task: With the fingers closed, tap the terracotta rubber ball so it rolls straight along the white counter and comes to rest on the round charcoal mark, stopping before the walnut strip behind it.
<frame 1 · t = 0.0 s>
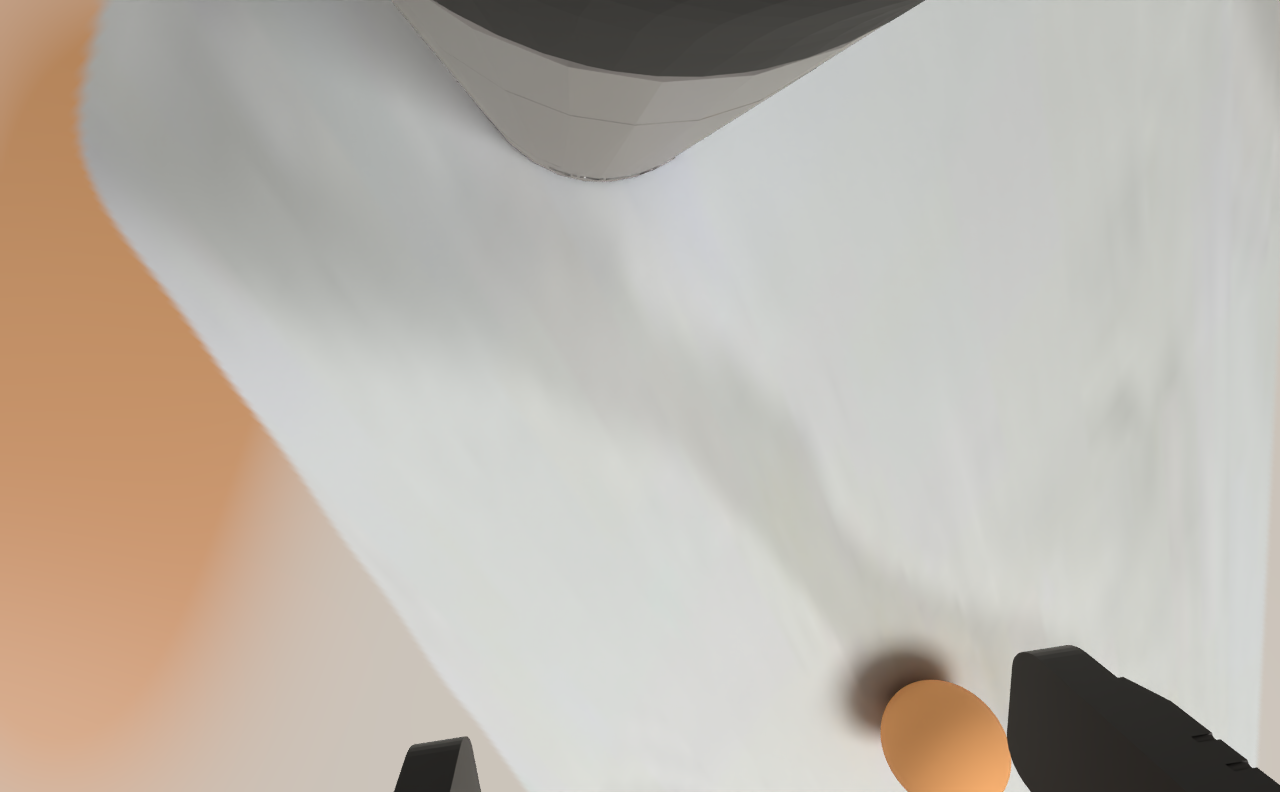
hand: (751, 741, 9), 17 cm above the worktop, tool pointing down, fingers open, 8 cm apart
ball: (943, 743, 29), on the worktop
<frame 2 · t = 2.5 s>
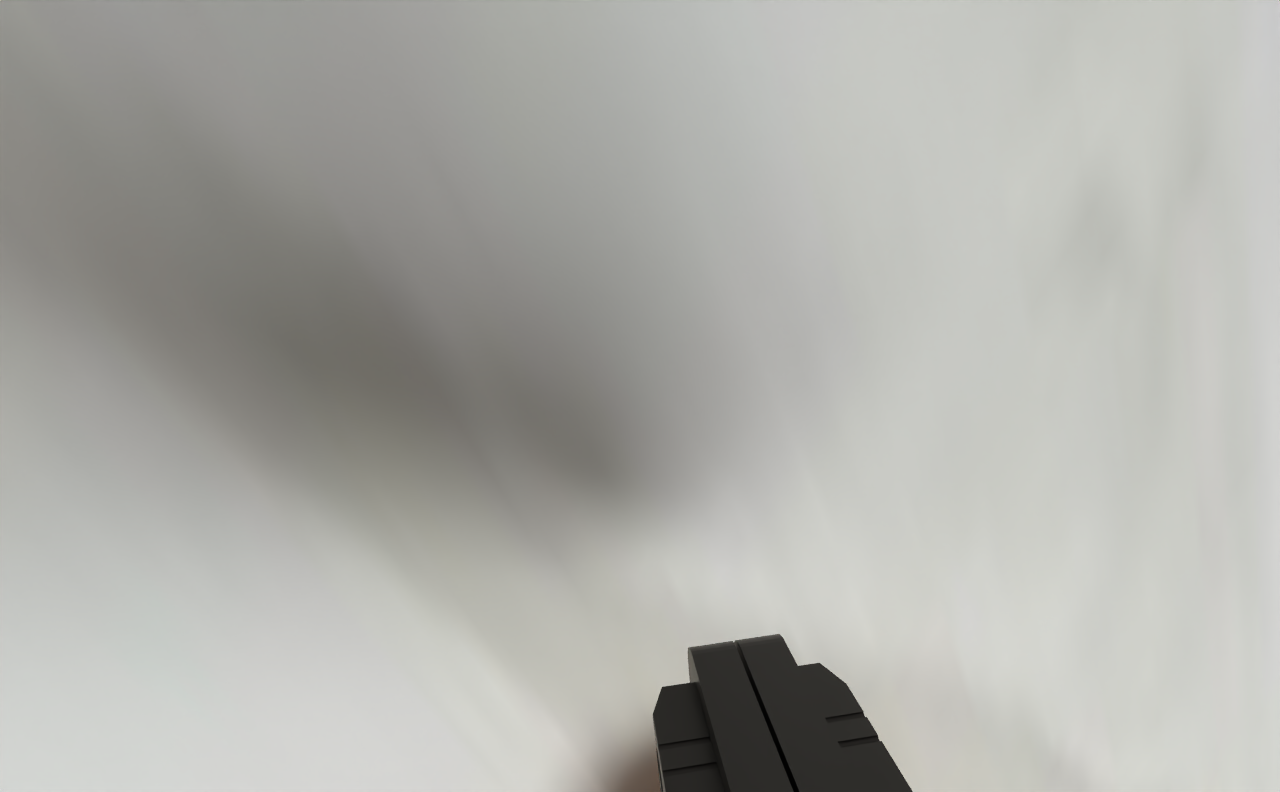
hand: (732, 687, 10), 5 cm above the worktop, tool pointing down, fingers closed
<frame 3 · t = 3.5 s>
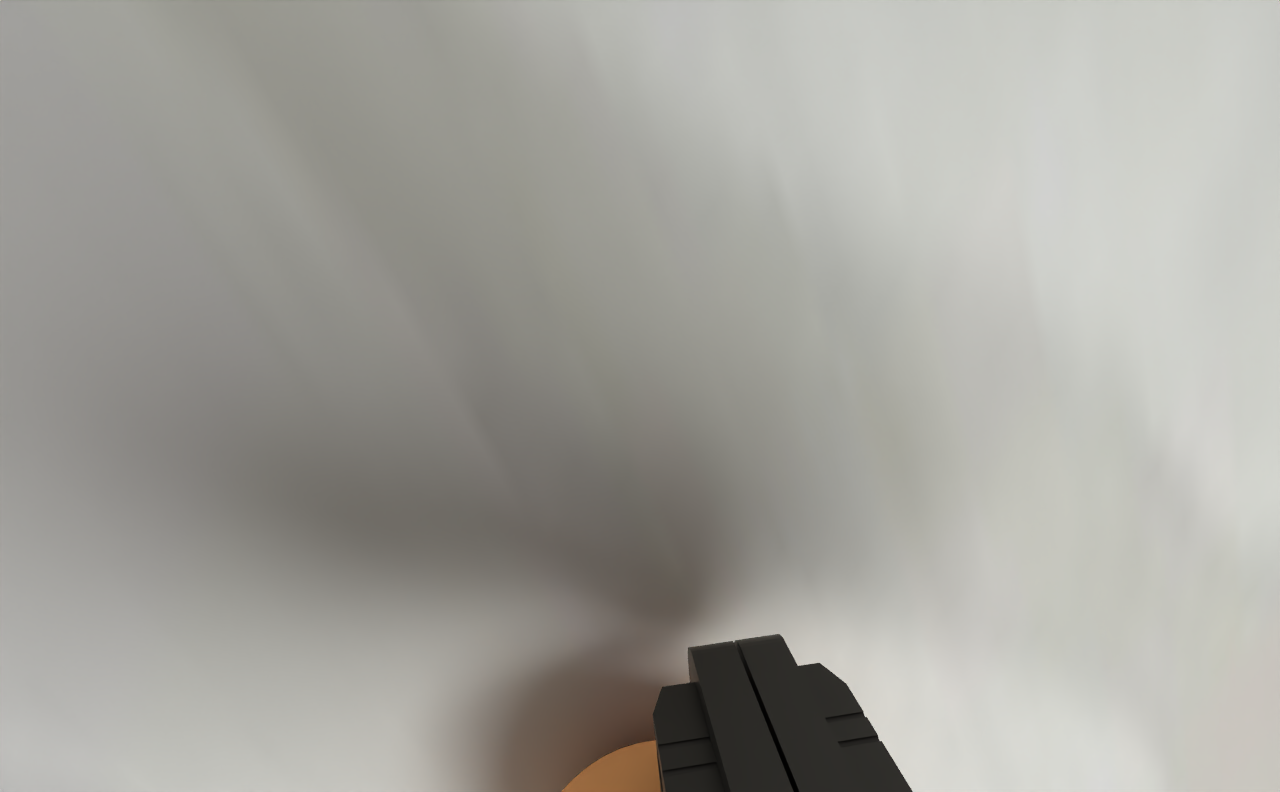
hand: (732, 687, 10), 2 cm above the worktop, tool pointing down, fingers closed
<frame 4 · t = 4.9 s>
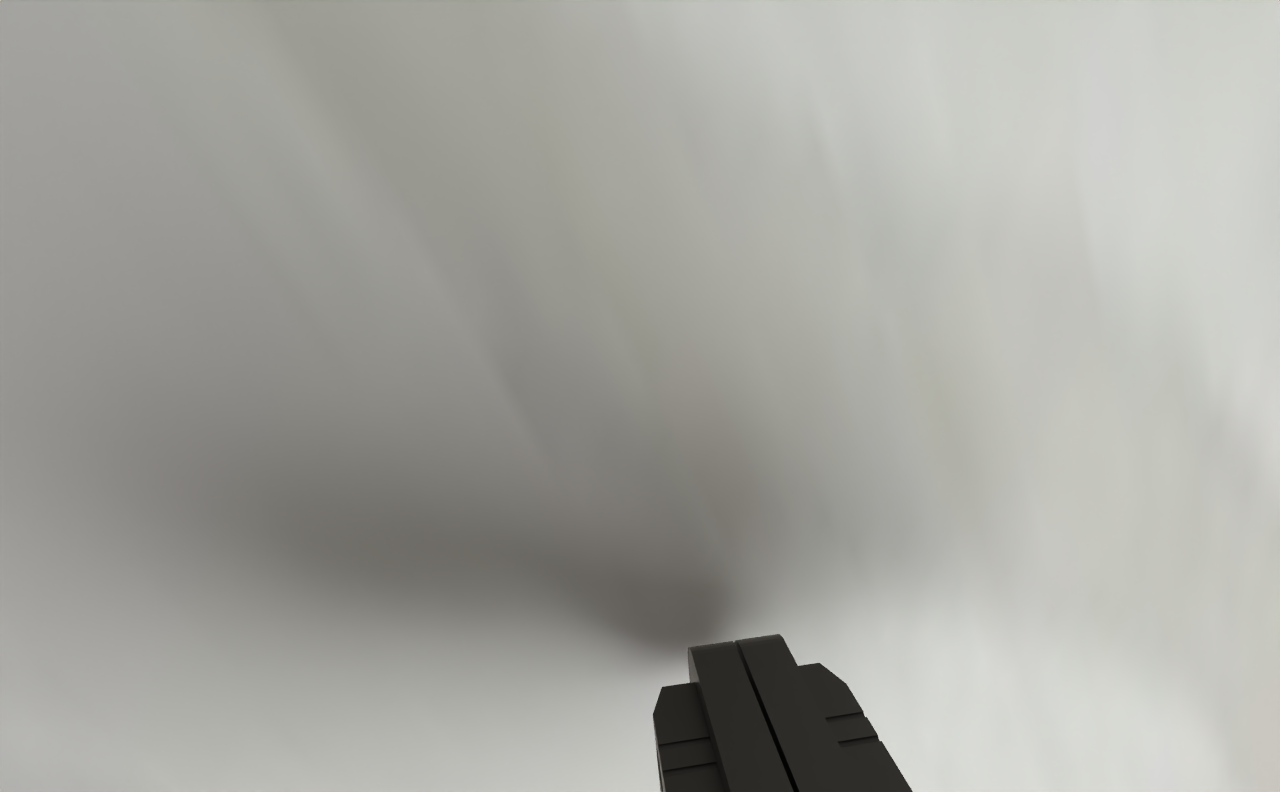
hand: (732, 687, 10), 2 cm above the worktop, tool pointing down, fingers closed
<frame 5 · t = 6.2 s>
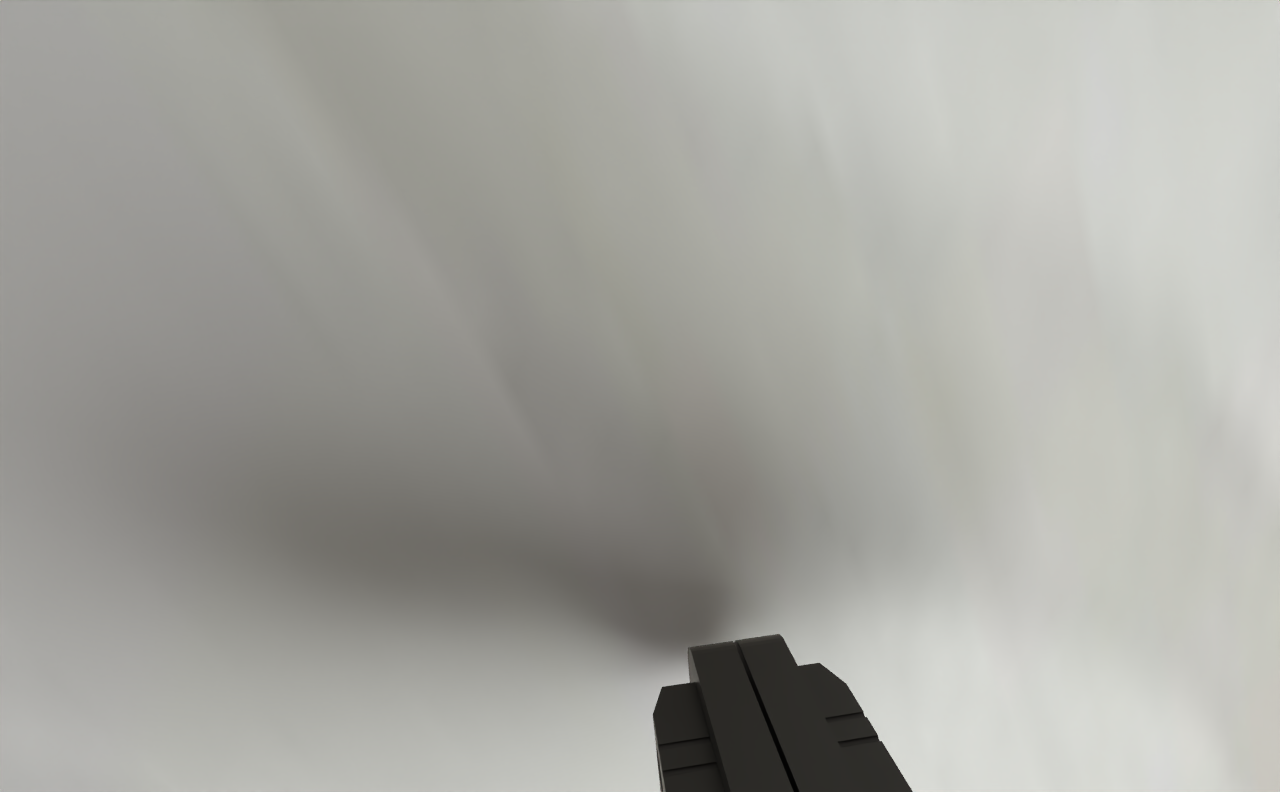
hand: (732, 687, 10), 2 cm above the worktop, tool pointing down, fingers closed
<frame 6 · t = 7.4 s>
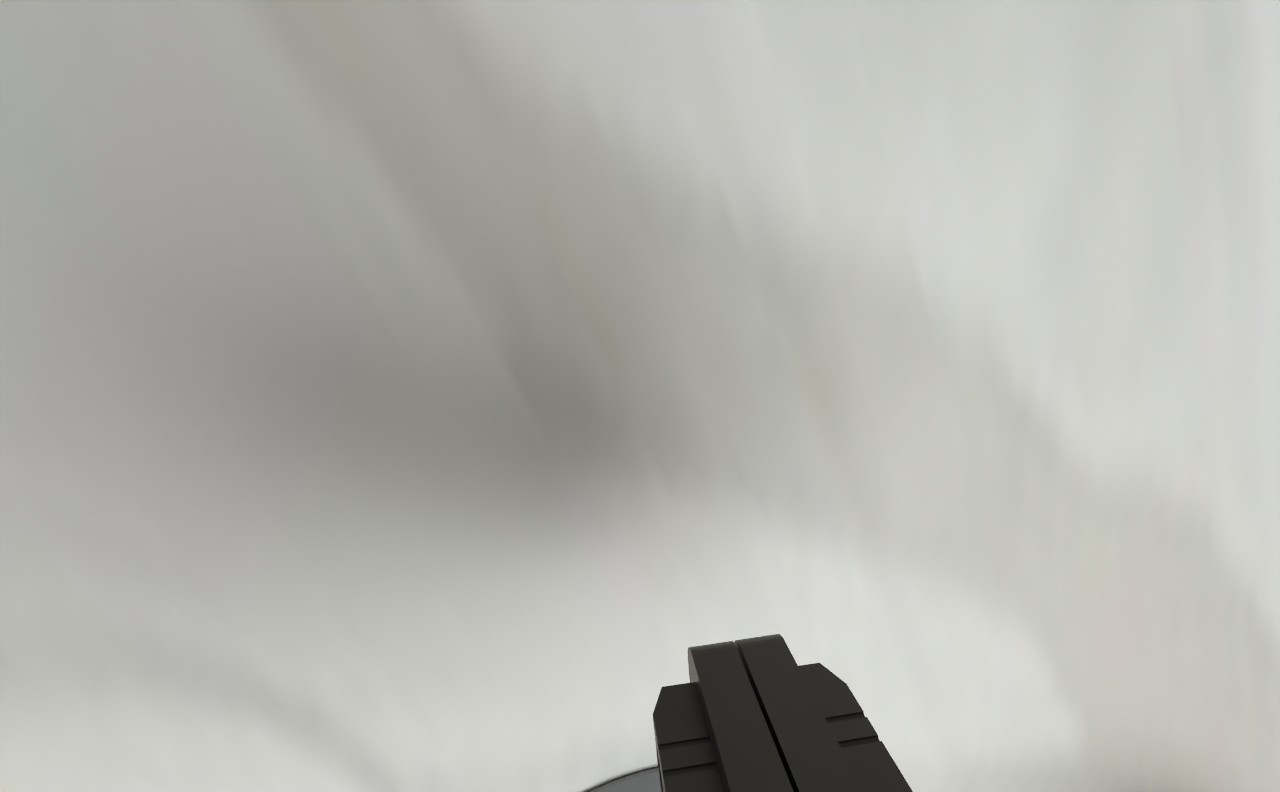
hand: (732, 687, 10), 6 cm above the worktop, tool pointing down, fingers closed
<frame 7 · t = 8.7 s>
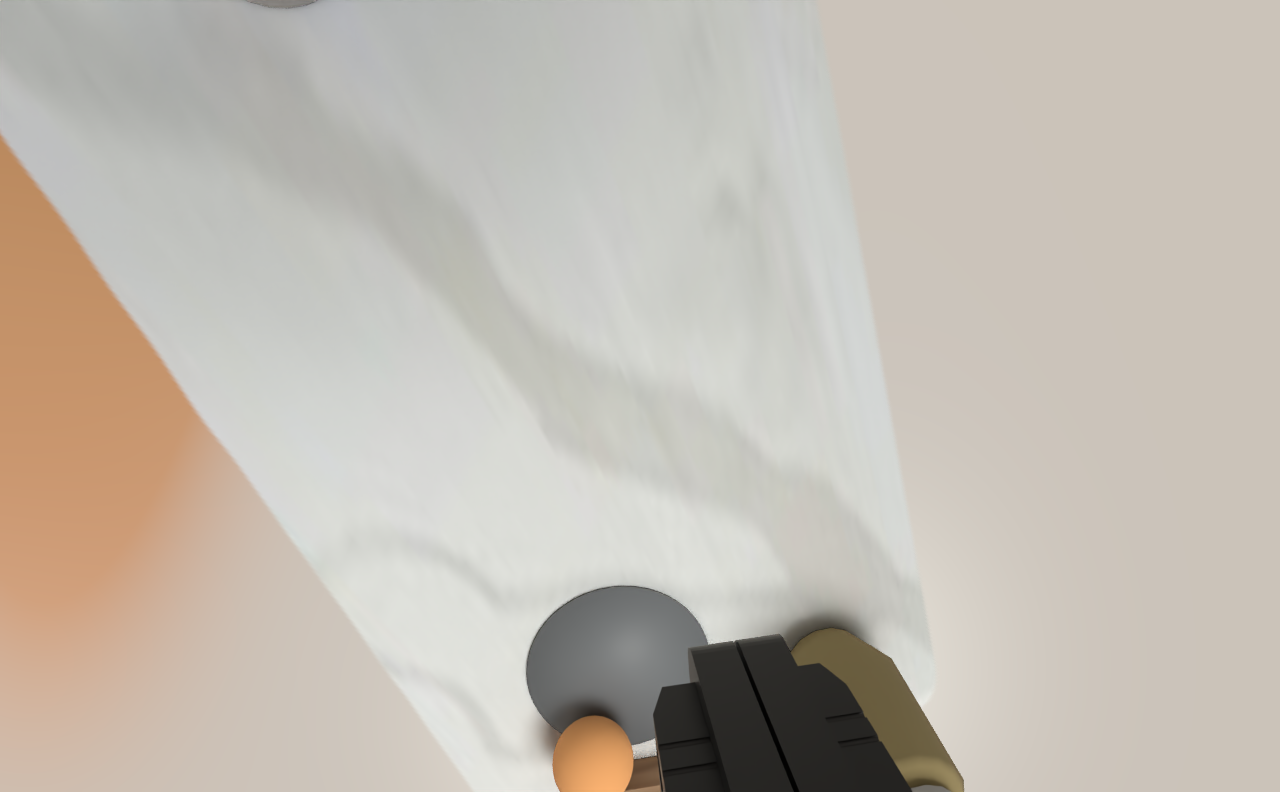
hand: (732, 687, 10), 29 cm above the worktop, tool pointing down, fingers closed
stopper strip: (631, 771, 45), on the worktop
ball: (593, 761, 41), on the worktop
squeeze bottle: (823, 659, 45), on the worktop
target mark: (619, 668, 43), on the worktop
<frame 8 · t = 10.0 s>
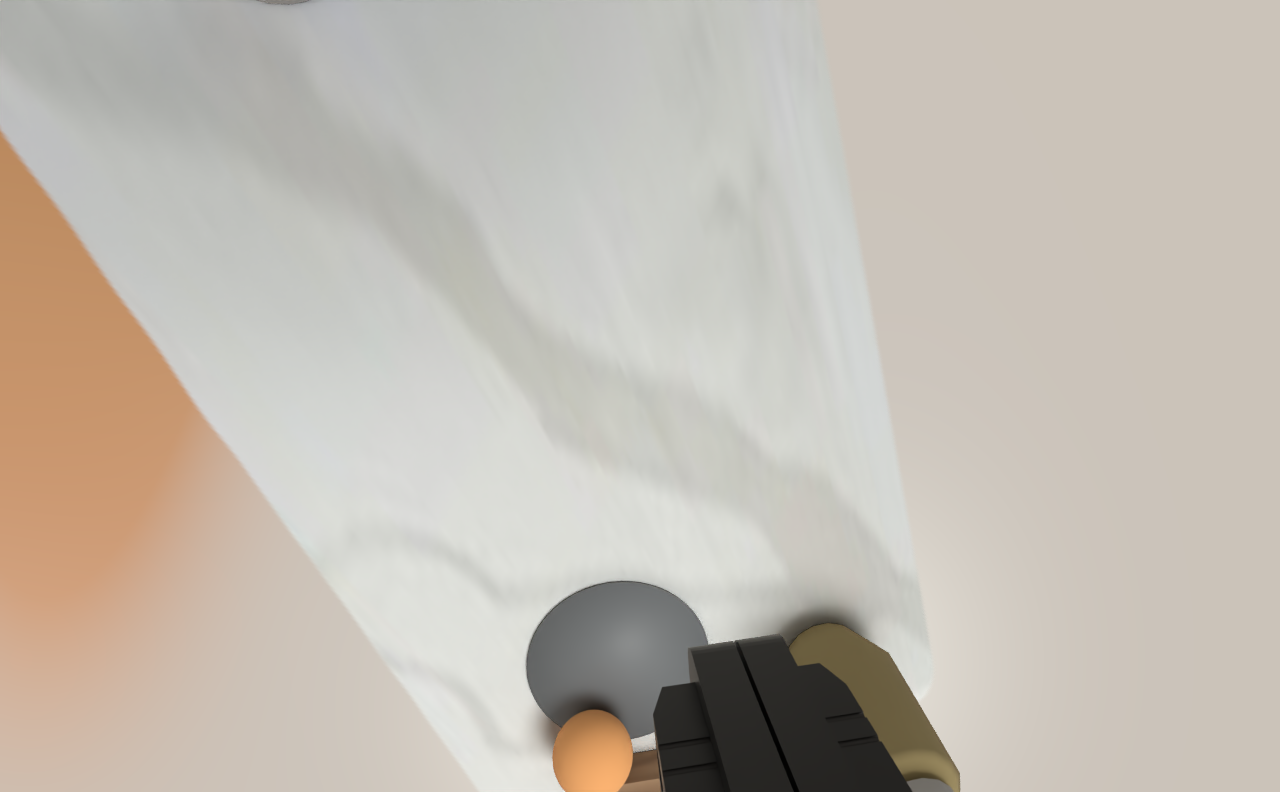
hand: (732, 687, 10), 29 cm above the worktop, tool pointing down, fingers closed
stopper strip: (631, 764, 45), on the worktop
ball: (592, 754, 42), on the worktop
squeeze bottle: (821, 654, 45), on the worktop
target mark: (619, 662, 43), on the worktop
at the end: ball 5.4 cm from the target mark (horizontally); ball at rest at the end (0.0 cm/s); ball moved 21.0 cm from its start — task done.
